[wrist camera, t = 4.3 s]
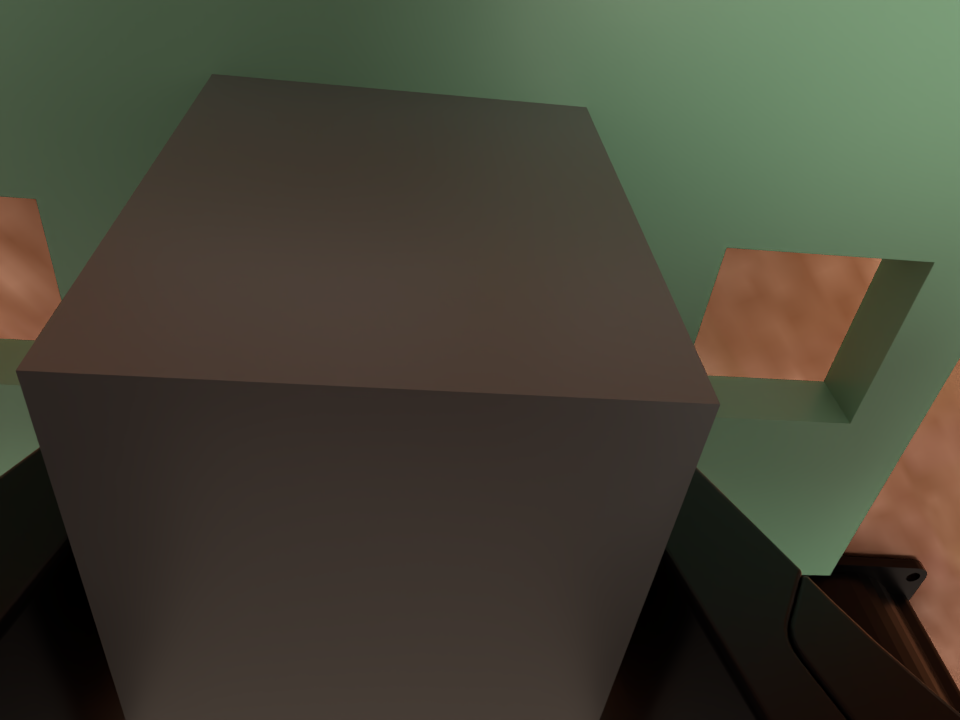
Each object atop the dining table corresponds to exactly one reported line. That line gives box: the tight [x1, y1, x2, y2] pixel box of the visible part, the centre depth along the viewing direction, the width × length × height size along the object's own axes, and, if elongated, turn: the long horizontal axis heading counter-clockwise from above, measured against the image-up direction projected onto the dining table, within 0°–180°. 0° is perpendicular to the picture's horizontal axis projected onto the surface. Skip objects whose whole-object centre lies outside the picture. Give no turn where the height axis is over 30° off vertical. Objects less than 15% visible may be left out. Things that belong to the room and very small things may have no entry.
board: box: [0, 0, 960, 720], centre depth 9 cm, size 16×10×6 cm, turn 84°
